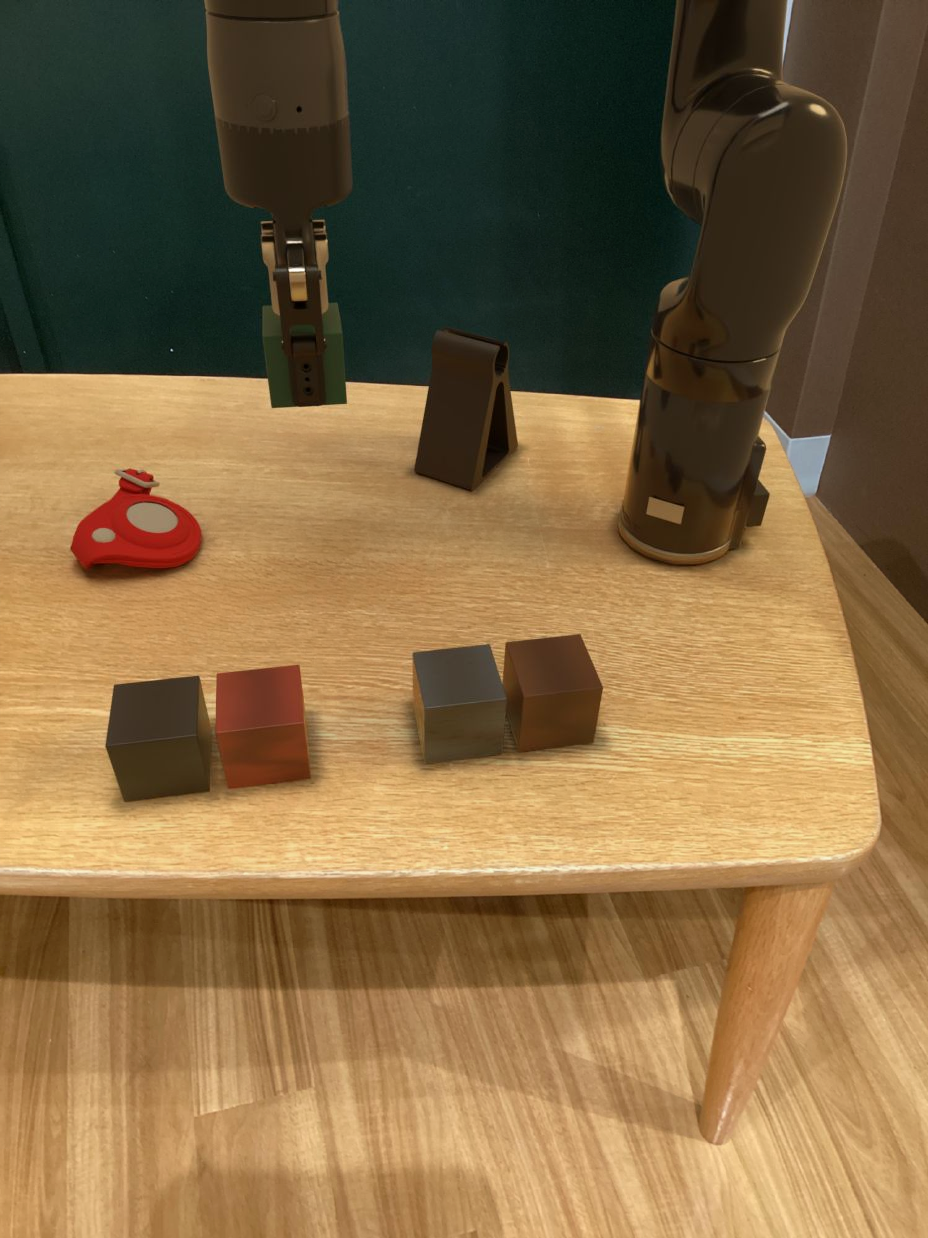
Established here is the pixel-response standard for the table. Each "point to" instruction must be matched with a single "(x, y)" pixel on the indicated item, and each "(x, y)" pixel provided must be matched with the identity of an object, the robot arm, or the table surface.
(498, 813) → the table surface
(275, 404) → the green block
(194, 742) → the block line
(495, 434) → the phone stand
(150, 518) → the tracker holder
